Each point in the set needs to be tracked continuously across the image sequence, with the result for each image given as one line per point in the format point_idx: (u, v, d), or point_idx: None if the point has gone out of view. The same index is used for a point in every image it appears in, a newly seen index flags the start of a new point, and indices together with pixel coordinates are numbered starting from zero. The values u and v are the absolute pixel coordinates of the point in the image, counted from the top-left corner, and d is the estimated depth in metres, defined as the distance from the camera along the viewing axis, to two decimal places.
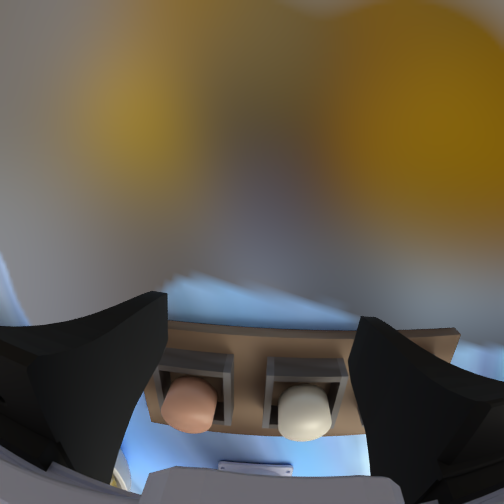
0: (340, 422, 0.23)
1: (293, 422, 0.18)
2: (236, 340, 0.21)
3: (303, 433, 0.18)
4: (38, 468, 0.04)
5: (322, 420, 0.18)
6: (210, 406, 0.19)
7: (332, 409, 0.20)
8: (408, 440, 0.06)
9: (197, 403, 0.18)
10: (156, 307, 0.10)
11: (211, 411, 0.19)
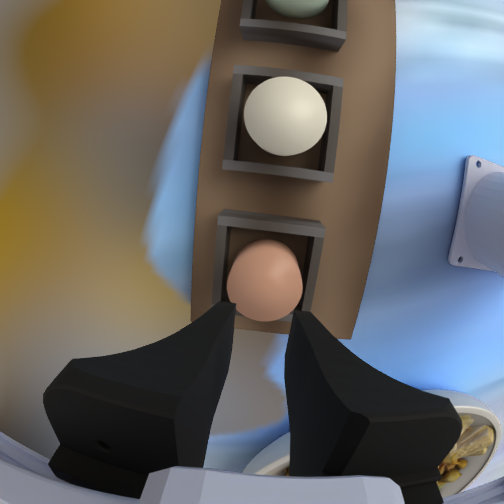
0: (365, 74, 0.15)
1: (275, 132, 0.13)
2: (203, 204, 0.18)
3: (305, 116, 0.12)
4: None
5: (275, 90, 0.12)
6: (251, 250, 0.15)
7: None
8: (308, 444, 0.06)
9: (233, 266, 0.15)
10: (232, 318, 0.10)
11: (256, 250, 0.15)
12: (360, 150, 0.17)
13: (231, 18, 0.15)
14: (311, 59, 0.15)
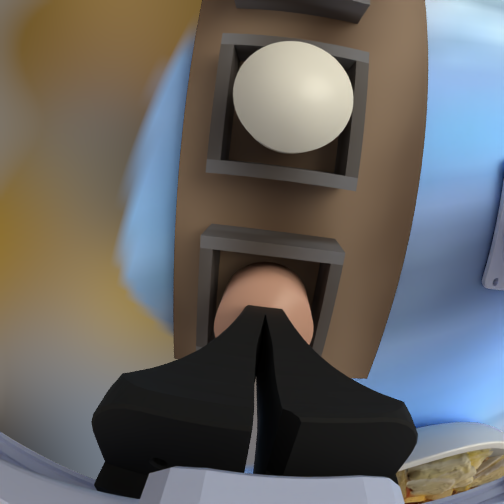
0: (391, 52, 0.11)
1: (278, 118, 0.09)
2: (185, 217, 0.14)
3: (322, 97, 0.08)
4: None
5: (278, 59, 0.08)
6: (246, 282, 0.11)
7: None
8: (263, 442, 0.06)
9: (222, 303, 0.11)
10: (263, 322, 0.10)
11: (252, 282, 0.11)
12: (388, 148, 0.12)
13: None
14: (324, 31, 0.11)
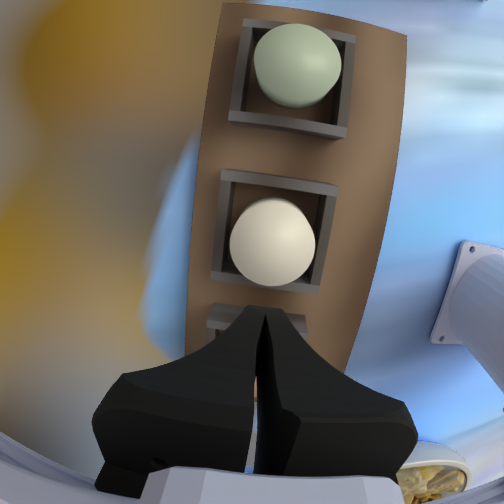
0: (363, 166, 0.16)
1: (260, 263, 0.13)
2: (194, 296, 0.19)
3: (292, 248, 0.13)
4: None
5: (262, 219, 0.13)
6: None
7: (292, 189, 0.15)
8: (263, 442, 0.06)
9: None
10: (263, 322, 0.10)
11: None
12: (350, 249, 0.17)
13: (221, 96, 0.15)
14: (306, 150, 0.16)
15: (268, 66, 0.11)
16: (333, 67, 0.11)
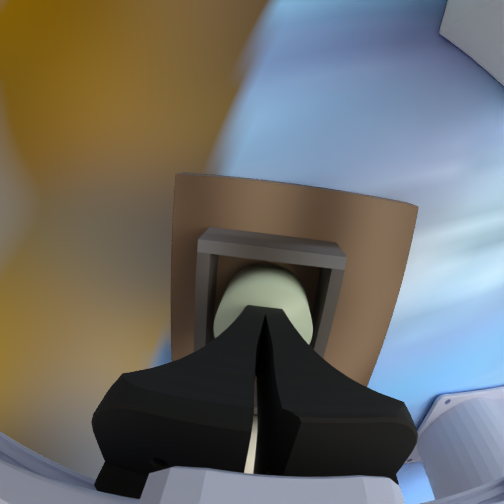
0: (340, 368, 0.15)
1: None
2: None
3: None
4: None
5: None
6: None
7: None
8: (263, 442, 0.06)
9: None
10: (263, 322, 0.10)
11: None
12: None
13: (186, 306, 0.15)
14: None
15: None
16: None
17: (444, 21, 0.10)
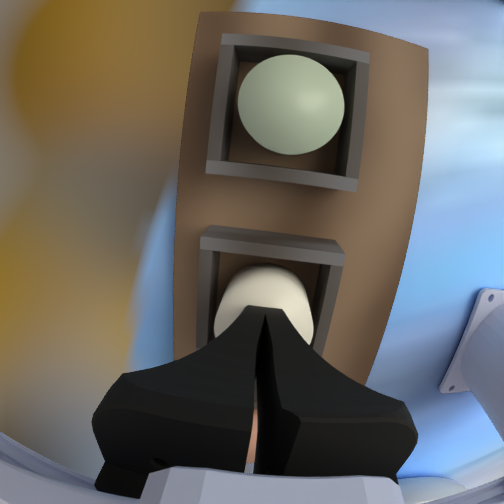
0: (375, 217, 0.13)
1: None
2: None
3: None
4: None
5: (250, 303, 0.11)
6: None
7: (288, 258, 0.12)
8: (263, 442, 0.06)
9: None
10: (263, 322, 0.10)
11: None
12: (357, 313, 0.15)
13: (199, 134, 0.13)
14: (307, 200, 0.13)
15: (255, 113, 0.10)
16: (334, 111, 0.09)
17: None
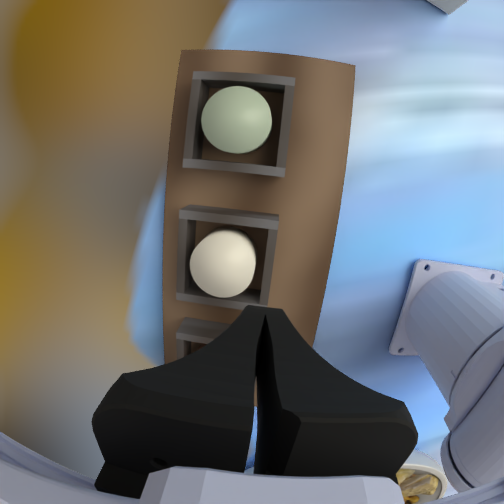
0: (309, 197, 0.19)
1: (213, 280, 0.17)
2: (168, 312, 0.22)
3: (237, 269, 0.17)
4: None
5: (212, 247, 0.17)
6: None
7: (239, 224, 0.17)
8: (263, 442, 0.06)
9: None
10: (263, 322, 0.10)
11: None
12: (300, 272, 0.20)
13: (181, 141, 0.18)
14: (256, 186, 0.19)
15: (212, 127, 0.15)
16: (264, 122, 0.15)
17: None
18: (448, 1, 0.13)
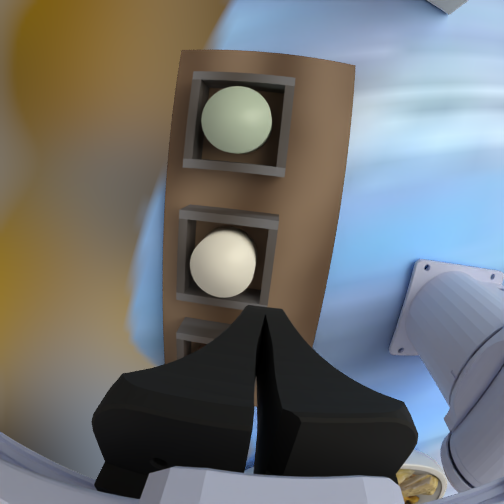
0: (309, 197, 0.19)
1: (213, 280, 0.17)
2: (168, 312, 0.22)
3: (237, 269, 0.17)
4: None
5: (212, 247, 0.17)
6: None
7: (239, 224, 0.17)
8: (263, 442, 0.06)
9: None
10: (263, 322, 0.10)
11: None
12: (300, 272, 0.20)
13: (181, 141, 0.18)
14: (256, 186, 0.19)
15: (212, 127, 0.15)
16: (264, 122, 0.15)
17: None
18: (448, 1, 0.13)
